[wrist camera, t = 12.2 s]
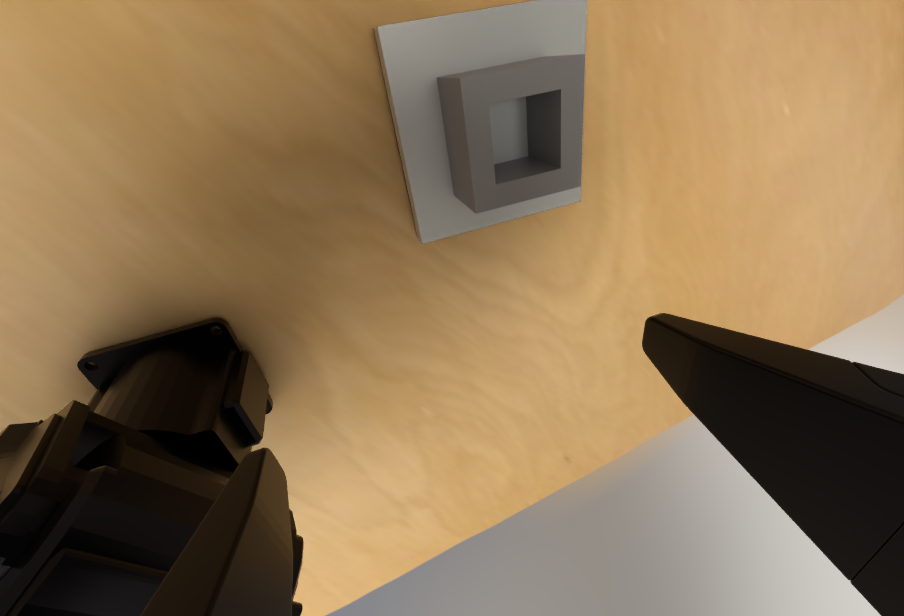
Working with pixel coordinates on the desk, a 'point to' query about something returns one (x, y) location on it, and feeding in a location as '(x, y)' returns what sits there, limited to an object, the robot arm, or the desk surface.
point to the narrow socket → (488, 112)
